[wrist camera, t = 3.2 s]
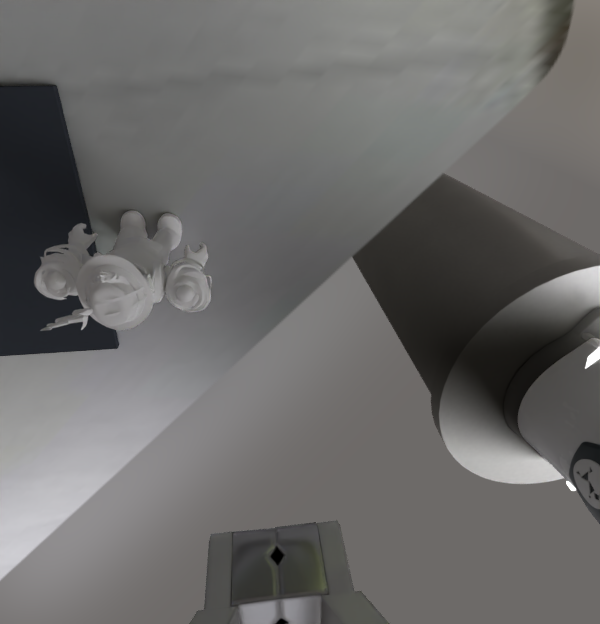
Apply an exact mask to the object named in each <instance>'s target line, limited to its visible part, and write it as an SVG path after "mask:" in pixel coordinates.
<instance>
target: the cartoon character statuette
mask: <svg viewBox="0 0 600 624" xmlns="http://www.w3.org/2000/svg"><path fill="white" fill-rule="evenodd" d="M145 227H146V223H145V220H144V218H143V216H142V215H141V214H140V213H139V212H137V211H132V210H131V211H127V212H125V213H124V214H123V215H122V218H121V221H120V228H121V230H120V232H119V234H118V236H117V239H116V242H115V245H114V249H113V251H111V252H109V253H107V254H105V255H102V254H101V253H98V252H97V253H95V254H94V256H93V257H91V256H89V253H88V251H87V250H86V249H87V248H88V247H89V246H90V245H91V244H92V243H93V242H94V241H95V240H96V237H97V233H93V234H91V235H88V234H85V233H84V231H83V229H85V228H86V224H83V223H80V224H77V225H76V226H75V227H73V229H72V231H70V232H69V233H68V235H69V238H68V244H62V245H57V246H53V247H50V248H48V249H46V250H45V251H44V257H40V259H41V262H42V264H41V266H40V267H39V269H38V270H37V271H36V273H35V277H34V284H35V287H36V288H37V290H38V291H39V292H40V293H41V294H43V295H44V296H46V297H48V298H52V299H56V300H63V299H67V298H64V297H67V296H68V295H73V296H77V295H78V297H79V300H80V302H81V304H82V306H83V307H84V309H78V310H74V311H73V313H72V315H69V316H65V317H61V318H57V319H56V320H55V322H56V323H50V324H48V325H46V326H48V327H45V328H43V329H41V330H40V331H44V330H51V329H52V328H56V327H60V326H64V325H68V324H70V323H77V322H83V324H82V325H83V326H82V329H83V328H85V327H86V325H87V321H88V316H89V315H90V316H91V317H92V318H93V319H94V320H95V321H97V322H99V323H100V324H102V325H104V326H106V327H108V328H111V329H114V330H120V331H123V330H129V329H132V328H134V327H136V326H138V325H139V324H141V323H142V322H143V321H144V320H145V319H146V318H147V317H148V316H149V314H150V313H151V311H152V308H153V304H155V303H159V302H160V301H161V299H162V298H163V296H164V293H165V292H166V297H167V299H168V301H169V302H170V303H171V304H172V305H173V306H174V307H176V308H178V309H181V310H183V311H184V312H199V311H202V310H204V309H206V307H207V306H208V304H209V303H210V301H211V286H212V278H211V276H210V275H204V273H205V269H204V265H205V264H206V261H207V260H208V253H207V247H206V245H205V244H204V243H202V242H201V243H200V247H201V248H200V250H198V251H197V252H193V251H191V250H190V246H189V245H186V247H185V258H183V259H179V260H177V261H175V262H174V263H172V266H171V267H169V266H166V265H167V263H168V261H169V254H170V252H171V250H174V249H175V248H176V247H177V246H178V245H179V243H180V240H181V235H182V224H181V221H180V219H179V218H178V217H177V216H176V215H174V214H171V213H165V214H164V215H162V216H161V217H160V219H159V221H158V224H157V227H158V232H157V233H156V234H155V236H154V237H153V238H152V240H151V239H147V237H148V234H147V232H146V230H145ZM61 248H69V249H68V250H66V249H61ZM46 252H60V253H64V254H60V253H53V254H51V255H47V256H46ZM180 262H185V263H181V264H178V265H176V266H175V267H173V265H175V264H176V263H180ZM172 267H173V268H172ZM202 268H203V271H204V273H202V272H200V270H201V269H202ZM206 277H209V279H210V289H209V287H208V283H207V279H206ZM194 305H195V306H194ZM192 306H194V307H193V308H191V307H192ZM51 327H52V328H51ZM82 329H81V330H82Z"/></svg>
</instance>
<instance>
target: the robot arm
mask: <svg viewBox="0 0 600 624" xmlns="http://www.w3.org/2000/svg"><path fill="white" fill-rule="evenodd" d="M503 412H504V417H505V420H506V423H507V425H508V426H509V428H510V429H511V430H512V431H513V432H514V433H515V434H517V435H518V436H519V437H521V438H522V439H523V440H525V441H526V442H527V443H528V444H530V445H531V446H532V447H533V448H534V449H535V450H536V451H537V452H538V454H539V455H540V456H541V457H542V458H543V459H544V460H545V461H547V462H549V463H550V464H551V465H552V466H553V467H554V468H555V469H556V470H557V471H558V472H559V473H560V474H561V475H562V476H563V477H564V478H565V479H566V480H567V485H568V486H569V488H570V489H571V490H572V491H574V490H577V491H578V493H579V495H580V497H581V498H582V500H583V502H584V503H585V505H586V506H587V508H588V510H589V511H590V512H591V513H592V515H593V516H594V517H595V519H596V520H597V521H598V522H599V524H600V308H597V309H594V310H593V311H591V312H590V313H588V314H587V315H586V316H585V317H584V318H583V319H582V320H581V321H580V322H579V323H578V324H577V325H576V326H575V327H574V328H573V329H572V330H571V331H569V332H568V333H567V334H565V335H564V336H562V337H560V338H558V339H557V340H555V341H553V342H551V343H550V344H548V345H546V346H545V347H543V348H542V349H541V350H539V351H538V352H537V353H535V354H534V355H533V356H532V357H531V358H530V359H529V360H528V361H526V362H525V364H524V365H523V366H522V367H521V368H520V369H519V370H518V372H517V373H516V374H515V376H514V377H513V379H512V381H511V383H510V384H509V387H508V389H507V391H506V394H505V398H504V404H503ZM189 624H389V623H388V622H387V620H386V619H385V618H384V617H383V616H382V615H381V613H380V612H379V611H378V610H377V609H376V608H375V607H374V606H373V604H372V603H371V602H370V601H369V600H368V599H367V598H366V596H365V595H364V594H363V593H362V592H361V591H354V588H353V583H352V579H351V574H350V569H349V565H348V560H347V555H346V551H345V546H344V541H343V537H342V533H341V528H340V524H339V523H338V521H337V520H336V521H328V522H321V523H316V522H314V523H306V524H298V525H290V526H282V527H275V528H269V529H259V530H247V531H236V532H224V533H215V534H211V536H210V540H209V549H208V563H207V576H206V590H205V604H204V610H200V611H197V612H196V614H195V616H194V617H193V619H192V620H191V622H190V623H189Z"/></svg>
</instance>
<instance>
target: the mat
mask: <svg viewBox="0 0 600 624" xmlns="http://www.w3.org/2000/svg"><path fill="white" fill-rule="evenodd" d="M80 223H83V224H86V228H85V229H83V231H84V233H85V234H88V235H91V234H92V230H91V226H90V222H89V217H88V213H87V209H86V205H85V201H84V197H83V193H82V188H81V184H80V180H79V176H78V172H77V168H76V164H75V159H74V155H73V151H72V147H71V143H70V139H69V135H68V130H67V126H66V122H65V118H64V114H63V110H62V106H61V101H60V97H59V93H58V89H57V86H55V85H53V86H0V356H10V355H25V354H40V353H56V352H71V351H87V350H102V349H117V348H118V346H119V342H118V337H117V333H116V330H114V329H111V328H108V327H106V326H104V325H102V324H100V323H99V322H97V321H95V320H94V319H93V318H92V317H91V316H90V315H89V316H88V321H87V325H86V327H85V328H83V329H82V326H83V325H82V324H83V322H77V323H70V324H68V325H64V326H60V327H56V328H52V327H51V328H52V329H51V330H44V331H40V330H41V329H43V328H45V327H48V326H46V325H48V324H50V323H56V322H55V320H56V319H57V318H61V317H65V316H69V315H72V313H73V311H74V310H78V309H84V307H83V306H82V304H81V302H80V300H79V297H78V295H77V296H73V295H68V296H67V297H64V298H67V299H63V300H56V299H52V298H48V297H46V296H44V295H43V294H41V293H40V292H39V291H38V290H37V288H36V287H35V284H34V277H35V273H36V271H37V270H38V269H39V267H40V266H41V264H42V262H41V259H40V257H44V251H45V250H46V249H48V248H50V247H53V246H57V245H62V244H68V238H69V235H68V233H69V232H70V231H72V229H73V227H75V226H76V225H77V224H80ZM61 249H66V250H68V249H69V248H61ZM86 250H87V251H88V253H89V256H91V257H93V256H94V254H95V253H97V251H96V246H95V242H93V243H92V244H91V245H90V246H89V247H88V248H87V249H86ZM53 253H60V252H46V256H47V255H51V254H53ZM60 254H64V253H60ZM81 329H82V330H81Z"/></svg>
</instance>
